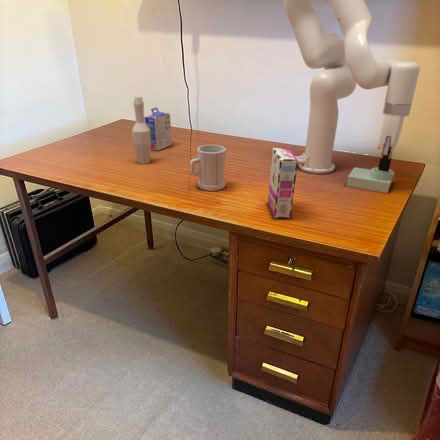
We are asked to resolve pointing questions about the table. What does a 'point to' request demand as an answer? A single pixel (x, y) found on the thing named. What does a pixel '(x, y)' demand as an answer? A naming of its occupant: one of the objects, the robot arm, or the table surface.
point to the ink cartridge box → (159, 129)
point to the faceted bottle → (141, 133)
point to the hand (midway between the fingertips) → (383, 170)
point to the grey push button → (381, 171)
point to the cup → (210, 167)
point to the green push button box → (370, 179)
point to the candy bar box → (282, 182)
